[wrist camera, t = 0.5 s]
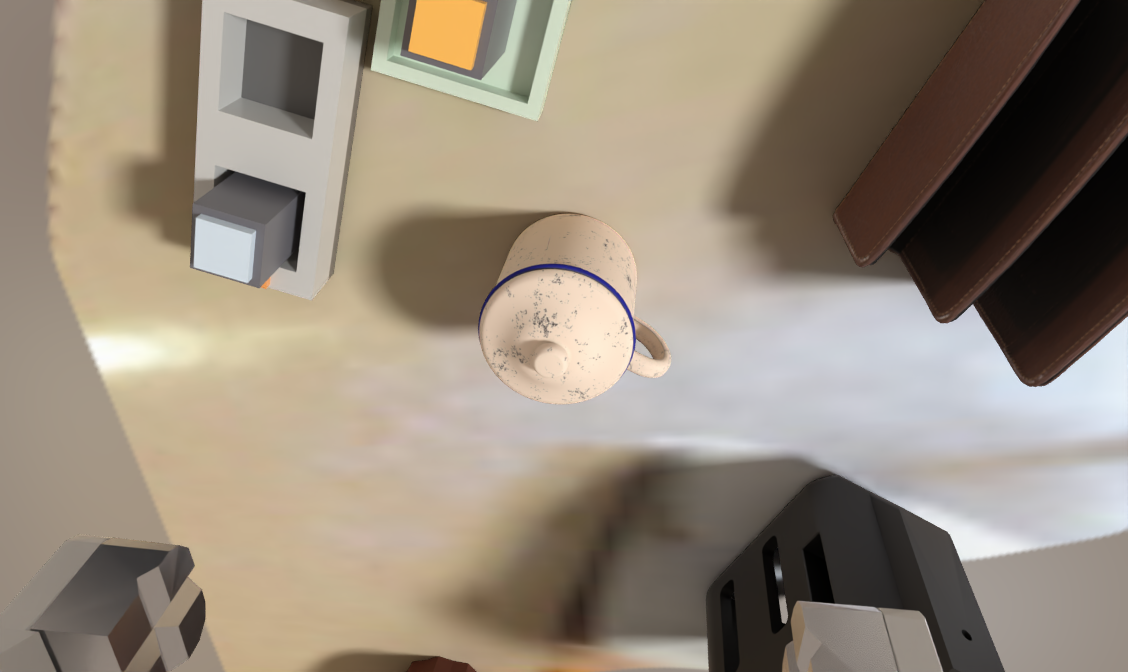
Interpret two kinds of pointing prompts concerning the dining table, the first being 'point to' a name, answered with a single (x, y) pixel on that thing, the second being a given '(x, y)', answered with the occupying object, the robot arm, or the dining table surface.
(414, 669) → the muffin
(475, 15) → the plug
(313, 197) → the power strip
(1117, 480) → the dining table surface
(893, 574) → the black machined bracket
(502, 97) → the tray
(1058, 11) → the letter holder
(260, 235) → the dark grey block
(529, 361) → the teacup with lid
